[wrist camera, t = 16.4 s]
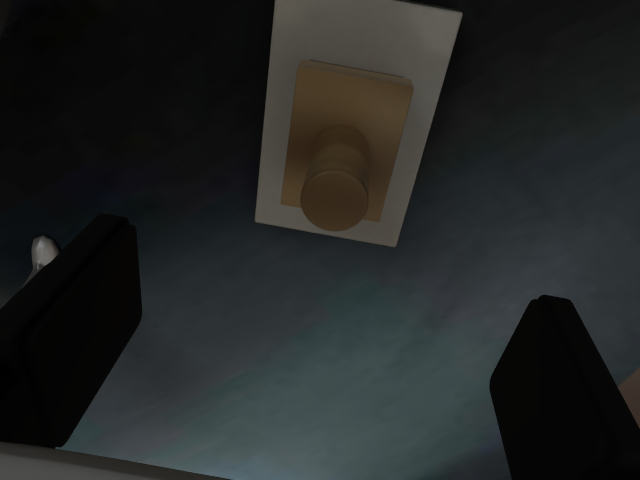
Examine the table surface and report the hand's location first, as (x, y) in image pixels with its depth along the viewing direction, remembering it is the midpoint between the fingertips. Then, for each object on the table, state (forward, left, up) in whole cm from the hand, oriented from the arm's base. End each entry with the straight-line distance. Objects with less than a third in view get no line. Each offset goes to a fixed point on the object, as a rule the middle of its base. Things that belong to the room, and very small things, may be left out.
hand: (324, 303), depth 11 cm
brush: (0, 0, -14) cm, 14 cm away
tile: (0, 0, -15) cm, 15 cm away
